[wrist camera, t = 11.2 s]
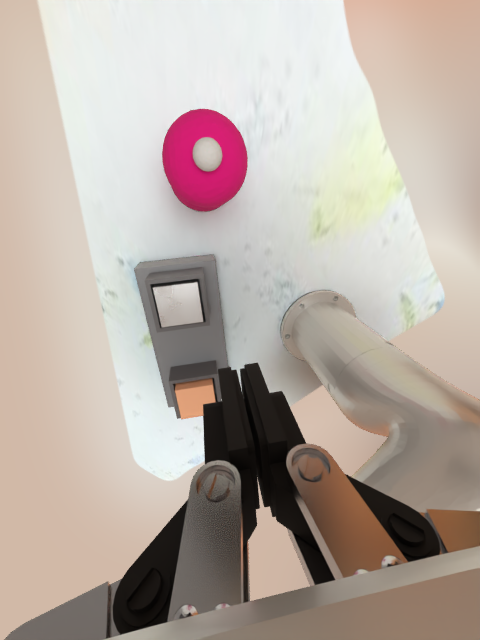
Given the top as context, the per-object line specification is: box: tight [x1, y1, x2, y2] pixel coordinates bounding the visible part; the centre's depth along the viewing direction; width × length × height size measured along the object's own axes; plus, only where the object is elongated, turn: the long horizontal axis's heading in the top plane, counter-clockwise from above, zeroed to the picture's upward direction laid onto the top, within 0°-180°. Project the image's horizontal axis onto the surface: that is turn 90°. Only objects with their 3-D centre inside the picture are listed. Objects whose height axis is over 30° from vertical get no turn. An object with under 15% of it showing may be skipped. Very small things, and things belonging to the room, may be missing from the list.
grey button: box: [153, 279, 203, 327], centre depth 33 cm, size 5×5×3 cm
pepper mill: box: [162, 109, 247, 211], centre depth 24 cm, size 7×7×20 cm
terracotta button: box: [175, 378, 216, 419], centre depth 38 cm, size 5×5×3 cm
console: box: [134, 254, 228, 419], centre depth 38 cm, size 22×10×8 cm, turn 5°
